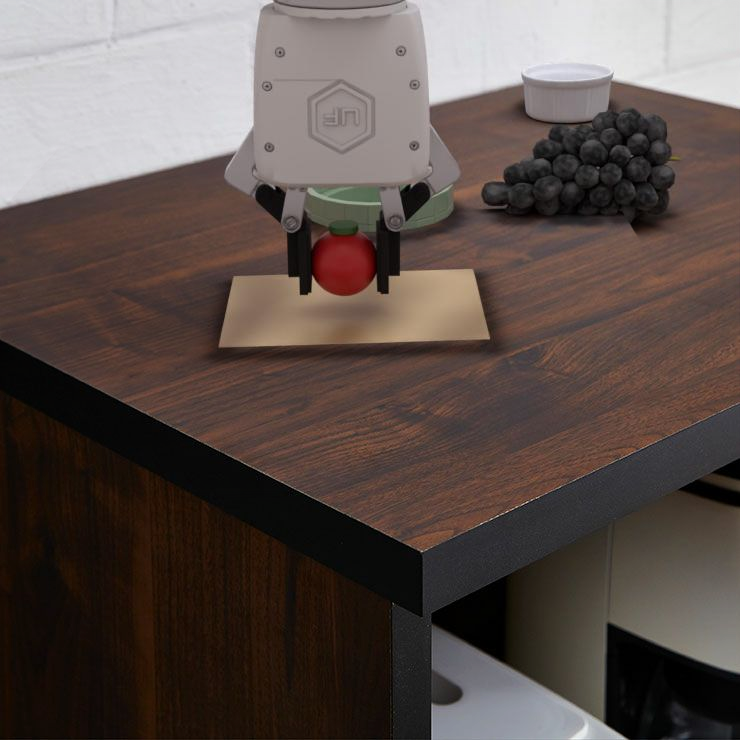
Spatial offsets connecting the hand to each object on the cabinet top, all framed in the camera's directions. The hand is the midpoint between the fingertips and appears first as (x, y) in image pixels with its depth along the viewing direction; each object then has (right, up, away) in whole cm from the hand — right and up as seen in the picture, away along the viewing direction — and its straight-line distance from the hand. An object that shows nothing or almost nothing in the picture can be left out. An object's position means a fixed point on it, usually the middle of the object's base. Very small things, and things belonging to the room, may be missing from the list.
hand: (344, 284), depth 85 cm
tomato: (0, -1, 0) cm, 1 cm away
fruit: (+17, +6, +21) cm, 28 cm away
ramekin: (+21, +20, +51) cm, 58 cm away
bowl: (+2, +6, +20) cm, 21 cm away
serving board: (+1, -3, +2) cm, 3 cm away
